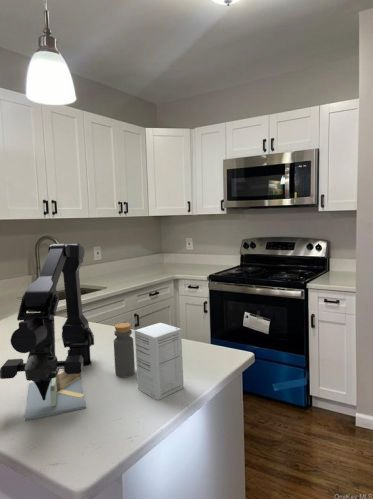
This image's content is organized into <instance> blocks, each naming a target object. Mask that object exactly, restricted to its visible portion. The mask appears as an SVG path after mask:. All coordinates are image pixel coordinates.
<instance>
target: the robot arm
mask: <svg viewBox="0 0 373 499" xmlns="http://www.w3.org/2000/svg"><path fill="white" fill-rule="evenodd" d="M84 257H85V248H84V246H82V245H81V243H80V242H78V243H77V242H76V243H73V242H72V243H52V244H49V246H48V254H47V256H46V258H45V260H44V263H43V266H42V267H41V271H40V273H39V275H38V277H37V279H36V280H34V281H33V282H32V283H30V284H29V285H28V286H27V289H26V290H25V292H24V294H23V295H22V299H21V300H20V305H19V310H18V314H17V319H16V320H17V321H19V322H18V328H17V329H15V330H14V331H13V332H12V334H11V338H10V345H11V347H12V348H13V349H14V351H16V352H18V353H20V354H28V355H27V358H26V361H25V362H24V359H23V358H14V359H13V358H12V359H7V360H6V361H4V363H3V364H2V365H1V367H0V379H1V380H5V379H7V380H9V379H14V378H15V377H16V376H18V375H17V374H18V373H19V372H24V373H25V379H26V381H28V382H29V381H30V382H31V381H32V383H33V382H34V383H35V384H36V386H37V388H38V390H39V392H40V394H41V396H42V399H43V400H45V399H46V394H47V391H48V388H49V385H50V381H51V379H52V378H55V377H56V376H57V374H58V373H59V372H60V370H64V372H65V373H67V374H79V373H81V374H82V370H83V367H85V366H92V360H91V348H90V347H92V346H94V345H95V335H94V333H93V331H92V330H91V327H90V325H89V320H88V319H87V318H86V317H85V315H84V314H83V304H82V292H81V281H80V269H81V266H83V263H84ZM61 274H62V275H63V284H64V285H63V286H64V296H65V307H66V320H65V322H64V324H63V325H62V328H61V330H62V331H61V339H62V344H63V348H66V349H67V348H69V349H67V355H66V358H65V360H58V357H57V355H56V333H55V317H56V315H57V309H58V305H59V302H60V297H59V293H58V289H57V285H58V282H59V279H60V277H61Z"/></svg>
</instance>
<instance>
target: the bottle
mask: <svg viewBox="0 0 373 499" xmlns="http://www.w3.org/2000/svg"><path fill="white" fill-rule="evenodd" d="M131 326H132V325H131V323H128V322H122V323H121V322H120V323H117V324H115V325H114V328H115V330H114V336H115V338H114V339H113V352H114V353H113V354H114V372H115V376H116V377H118V378H128V377H131V376H133V375H134V374H136V372H135V371H136V368H135V367H136V366H135V364H136V363H135V348H134V347H135V345H134V344H135V343H134V338H133V337H132V336H131V335H132V334H133V333H132V331H133V330H132V329H131Z"/></svg>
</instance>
